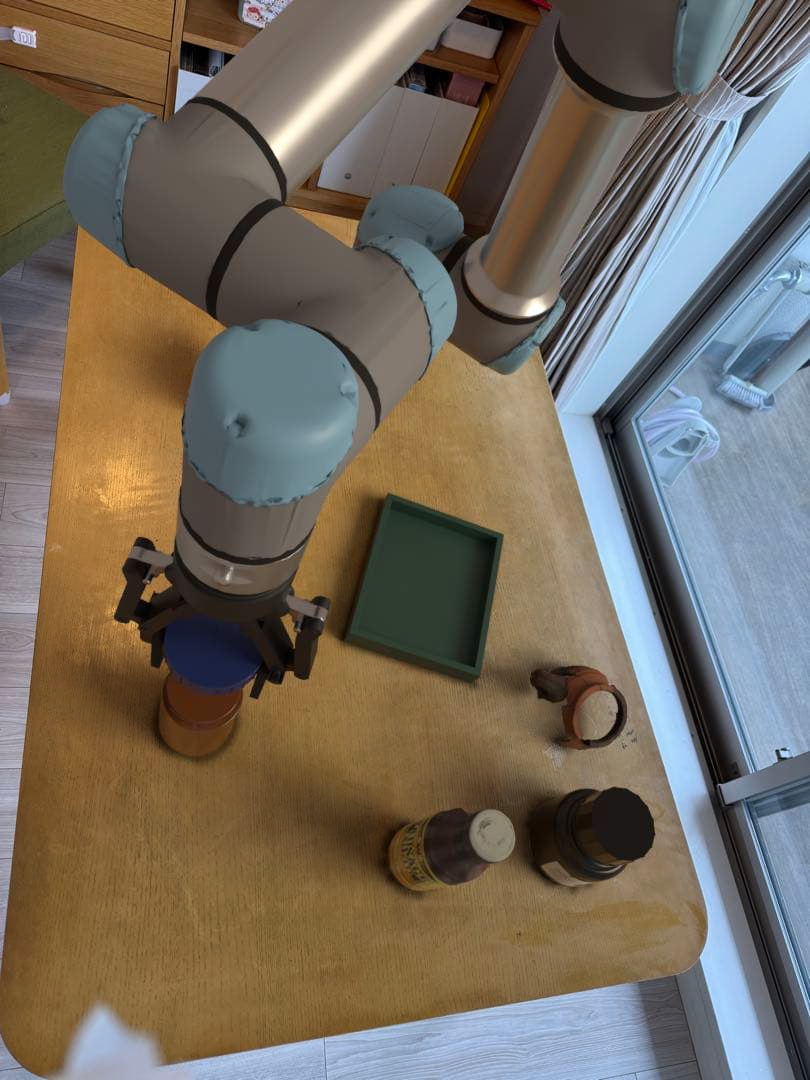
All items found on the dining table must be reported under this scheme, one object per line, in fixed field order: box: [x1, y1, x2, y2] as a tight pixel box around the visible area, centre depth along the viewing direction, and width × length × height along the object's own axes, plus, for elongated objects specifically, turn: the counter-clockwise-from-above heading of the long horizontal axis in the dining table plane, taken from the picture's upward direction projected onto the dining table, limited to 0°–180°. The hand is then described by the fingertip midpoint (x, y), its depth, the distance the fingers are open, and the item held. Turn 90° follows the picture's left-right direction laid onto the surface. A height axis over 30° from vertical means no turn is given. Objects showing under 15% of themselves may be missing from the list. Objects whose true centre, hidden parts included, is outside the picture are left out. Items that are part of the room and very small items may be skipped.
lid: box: [162, 613, 263, 696], centre depth 60 cm, size 8×8×2 cm
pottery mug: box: [529, 664, 628, 751], centre depth 88 cm, size 12×10×8 cm
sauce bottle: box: [386, 807, 516, 892], centre depth 69 cm, size 6×6×20 cm
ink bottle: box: [528, 786, 656, 888], centre depth 78 cm, size 10×9×12 cm
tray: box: [343, 492, 505, 684], centre depth 92 cm, size 20×16×3 cm
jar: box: [158, 671, 244, 757], centre depth 73 cm, size 7×7×11 cm
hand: (210, 668), depth 65 cm, fingers closed on lid, 8 cm apart
